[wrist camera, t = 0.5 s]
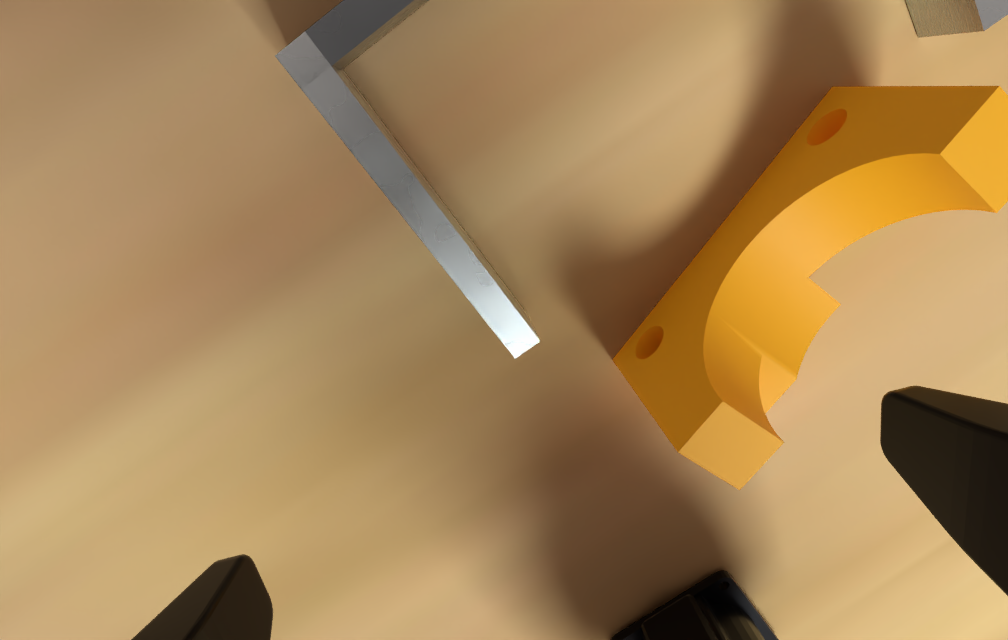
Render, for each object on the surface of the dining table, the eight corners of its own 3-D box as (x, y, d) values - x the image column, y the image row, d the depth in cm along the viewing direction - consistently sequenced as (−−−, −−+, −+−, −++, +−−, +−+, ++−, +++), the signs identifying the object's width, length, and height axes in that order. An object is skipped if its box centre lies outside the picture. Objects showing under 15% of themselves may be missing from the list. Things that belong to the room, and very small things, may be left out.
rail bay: (945, 18, 20) (1014, 9, 17) (504, 329, 22) (515, 358, 19) (820, -365, 16) (890, -444, 13) (293, 60, 18) (274, 55, 15)
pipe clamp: (690, 409, 24) (778, 513, 18) (610, 357, 23) (677, 452, 17) (904, 161, 22) (1089, 189, 16) (829, 86, 20) (999, 85, 14)
